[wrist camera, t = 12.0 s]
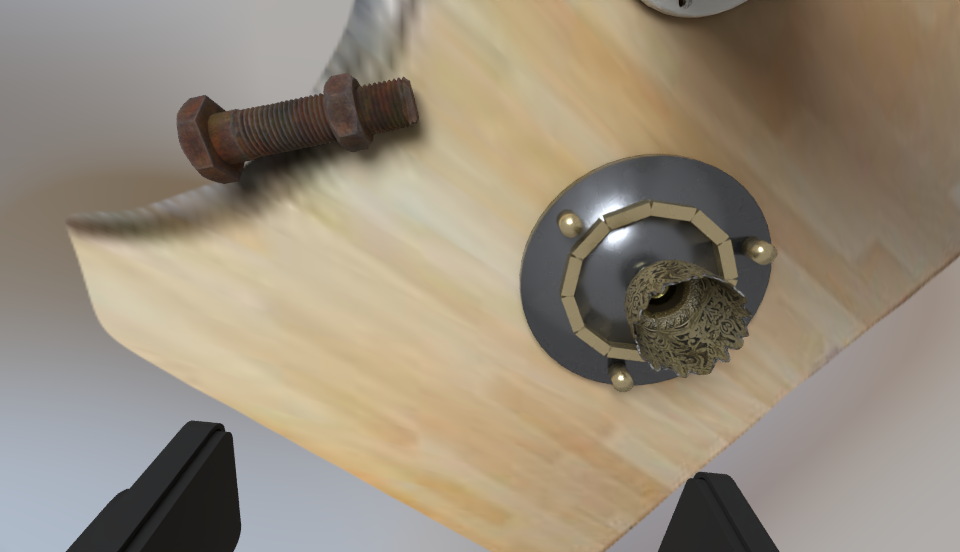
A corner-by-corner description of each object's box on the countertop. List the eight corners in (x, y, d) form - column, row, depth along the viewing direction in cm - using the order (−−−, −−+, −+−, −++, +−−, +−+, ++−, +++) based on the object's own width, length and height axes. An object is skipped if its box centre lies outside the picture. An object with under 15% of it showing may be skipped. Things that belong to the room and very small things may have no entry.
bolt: (421, 109, 35) (231, 147, 36) (403, 43, 31) (189, 87, 32) (425, 157, 31) (214, 199, 32) (405, 89, 27) (164, 138, 28)
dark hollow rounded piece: (715, 252, 36) (775, 296, 29) (673, 331, 39) (718, 389, 32) (627, 226, 35) (666, 264, 28) (591, 308, 38) (618, 363, 31)
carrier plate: (546, 135, 34) (552, 140, 31) (803, 174, 35) (833, 183, 32) (501, 363, 42) (503, 384, 39) (714, 389, 43) (731, 412, 40)
